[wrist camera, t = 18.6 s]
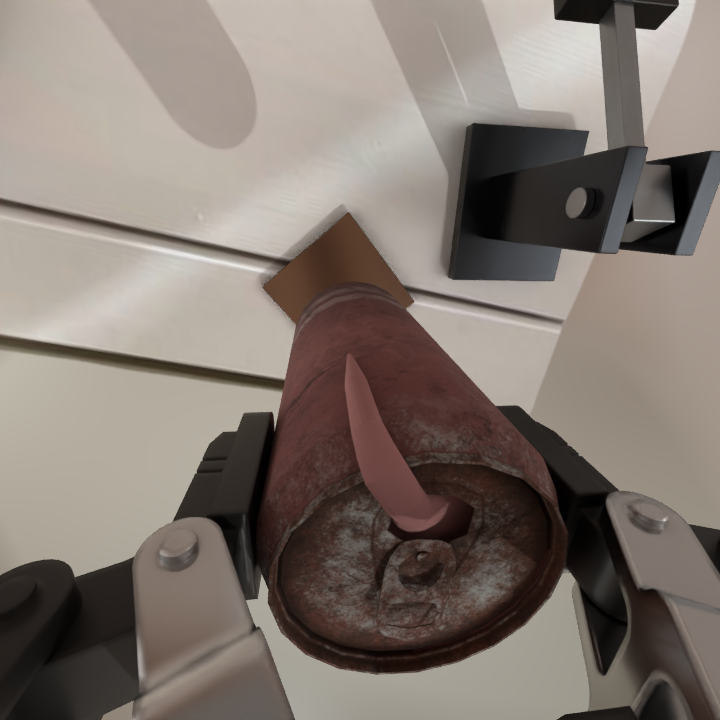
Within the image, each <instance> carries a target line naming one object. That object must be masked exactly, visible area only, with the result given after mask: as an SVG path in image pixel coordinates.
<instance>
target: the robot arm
mask: <svg viewBox="0 0 720 720" xmlns="http://www.w3.org/2000/svg"><path fill="white" fill-rule="evenodd" d="M496 407H497V408H498V409H499V410H500V411H501V413H502V414H503V415H504V416H505V417H506V418H507V419H508V420H509V421H510V422H511V423H512V424H513V426H514V427H515V428H516V429H517V430H518V431H519V432H520V433H521V434H522V435H523V436H524V437H525V438H526V440H527V441H528V442H529V443H530V444H531V445H532V446H533V447H534V448H535V449H536V450H537V451H538V452H539V454H540V455H541V456H542V457H543V458H544V461H545V464H546V466H547V469H548V471H549V474H550V476H551V479H552V481H553V484H554V486H555V489H556V493H557V499H558V506H559V511H560V514H561V516H562V519H563V521H564V524H565V526H566V529H567V531H568V546H567V559H566V567H565V569H564V571H563V573H571V574H572V575H573V577H574V578H575V579H576V580H575V583H574V585H573V589H572V598H573V603H574V608H575V613H576V618H577V624H578V629H579V634H580V639H581V644H582V649H583V654H584V660H585V665H586V670H587V675H588V681H589V690H590V700H589V709H588V711H587V712H581V713H573V714H566V715H564V716H562V717H560V718H559V719H557V720H720V530H718V529H712V528H706V527H701V526H696V525H690V524H688V523H687V522H686V521H685V520H684V519H683V518H682V517H681V516H680V515H679V514H678V513H676V512H675V511H674V510H672V509H671V508H669V507H668V506H666V505H664V504H663V503H661V502H659V501H657V500H655V499H653V498H650V497H648V496H645V495H642V494H638V493H634V492H629V491H619V490H618V489H617V488H616V487H615V486H614V485H612V484H611V483H610V482H609V481H608V480H607V479H606V478H605V477H604V476H603V475H602V474H600V473H599V472H598V471H597V470H596V469H595V468H594V467H593V466H592V465H590V464H589V463H588V462H587V461H586V460H585V459H584V458H583V457H582V456H579V455H578V454H579V453H577V452H576V451H575V450H574V449H573V448H572V447H571V446H568V445H567V442H565V441H564V440H563V439H562V438H561V437H560V436H559V435H558V434H557V433H555V432H554V431H553V430H551V429H549V428H547V427H545V426H544V425H542V424H540V423H538V422H535V421H534V420H533V419H532V418H531V417H530V416H529V415H528V414H527V413H526V412H525V411H524V410H523V409H522V408H520V407H519V406H516V405H514V406H496ZM274 433H275V430H274V417H273V413H272V412H257V413H244V414H243V417H242V419H241V422H240V425H239V427H238V430H237V432H223V433H221V434H220V435H219V436H218V437H217V438H216V439H215V440H214V441H212V442H211V443H210V444H209V446H208V448H207V450H206V452H205V454H204V457H203V461H201V463H200V465H199V467H198V469H197V474H195V476H194V478H193V480H192V482H191V484H190V486H189V488H188V491H187V492H186V495H185V497H184V499H183V501H182V503H181V505H180V507H179V509H178V512H177V514H176V516H175V518H174V520H173V522H172V523H169V524H167V525H165V526H164V527H162V528H160V529H158V530H157V531H156V532H154V533H153V534H152V535H150V536H149V537H148V538H147V539H146V541H144V542H143V544H142V545H141V546H140V548H139V549H138V551H137V553H136V555H135V557H133V558H130V559H128V560H126V561H124V562H121V563H118V564H114V565H112V566H109V567H106V568H102V569H99V570H96V571H93V572H90V573H87V574H84V575H81V576H78V577H75V576H74V574H73V571H72V569H71V567H70V566H69V565H68V564H66V563H65V562H63V561H60V560H53V559H51V560H41V561H35V562H31V563H28V564H24V565H22V566H19V567H17V568H14V569H12V570H10V571H8V572H6V573H4V574H2V575H0V720H101V719H102V717H103V715H104V714H106V713H108V712H110V711H112V710H114V709H116V708H118V707H121V706H123V705H125V704H127V703H129V702H131V701H133V700H134V703H133V712H132V720H295V718H294V715H293V713H292V710H291V707H290V704H289V702H288V699H287V696H286V694H285V690H284V688H283V685H282V682H281V679H280V677H279V674H278V671H277V668H276V665H275V663H274V660H273V657H272V655H271V652H270V649H269V646H268V644H267V641H266V639H265V636H264V634H263V632H262V630H261V628H260V627H257V628H256V626H255V624H254V622H253V619H252V617H251V614H250V611H249V608H248V605H247V602H246V600H251V599H258V593H259V587H260V580H261V574H262V573H261V571H260V568H259V566H258V564H257V561H256V528H257V518H258V513H259V508H260V503H261V498H262V493H263V488H264V483H265V478H266V473H267V468H268V463H269V458H270V453H271V448H272V443H273V438H274Z"/></svg>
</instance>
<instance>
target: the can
mask: <svg viewBox="0 0 720 720" xmlns="http://www.w3.org/2000/svg"><path fill="white" fill-rule="evenodd" d="M567 546H568V531H567V529H566V526H565V524H564V521H563V519H562V516H561V514H560V511H559V506H558V499H557V493H556V489H555V486H554V484H553V481H552V479H551V476H550V474H549V471H548V469H547V466H546V464H545V461H544V458H543V457H542V456H541V455H540V454H539V452H538V451H537V450H536V449H535V448H534V447H533V446H532V445H531V444H530V443H529V442H528V441H527V440H526V438H525V437H524V436H523V435H522V434H521V433H520V432H519V431H518V430H517V429H516V428H515V427H514V426H513V424H512V423H511V422H510V421H509V420H508V419H507V418H506V417H505V416H504V415H503V414H502V413H501V411H500V410H499V409H498V408H497V407H496V406H495V405H494V404H493V403H492V402H491V401H490V400H489V399H488V397H487V396H486V395H485V394H484V393H483V392H482V391H481V390H480V389H479V388H478V387H477V386H476V385H475V383H474V382H473V381H472V380H471V379H470V378H469V377H468V376H467V375H466V374H465V373H464V372H463V370H462V369H461V368H460V367H459V366H458V365H457V364H456V363H455V362H454V361H453V360H452V359H451V358H450V356H449V355H448V354H447V353H446V352H445V351H444V350H443V349H442V348H441V347H440V346H439V345H438V344H437V342H436V341H435V340H434V339H433V338H432V337H431V336H430V335H429V334H428V333H427V332H426V331H425V329H424V328H423V327H422V326H421V325H420V324H419V323H418V322H417V321H416V320H415V319H414V318H413V317H412V315H411V314H410V313H409V312H408V311H407V310H406V309H405V308H404V307H403V306H402V305H401V304H400V303H399V302H398V301H397V300H396V299H395V298H394V297H393V296H392V295H391V294H390V293H389V292H388V291H386V290H384V289H382V288H380V287H377V286H375V285H373V284H371V283H362V282H354V281H351V282H346V283H341V284H336V285H332V286H331V287H329V288H327V289H325V290H324V291H322V292H320V293H318V294H317V295H315V297H314V298H313V299H312V300H311V301H310V302H309V303H308V304H307V305H306V307H305V308H304V309H303V311H302V313H301V316H300V318H299V320H298V323H297V325H296V329H295V334H294V339H293V344H292V349H291V354H290V359H289V364H288V369H287V374H286V379H285V384H284V389H283V394H282V399H281V404H280V408H279V413H278V418H277V424H276V428H275V433H274V438H273V443H272V448H271V453H270V458H269V463H268V468H267V473H266V478H265V483H264V488H263V493H262V498H261V503H260V508H259V513H258V518H257V528H256V561H257V564H258V566H259V568H260V571H261V573H262V575H263V578H264V580H265V582H266V585H267V587H268V589H269V591H268V604H269V606H270V609H271V611H272V613H273V616H274V618H275V620H276V622H277V625H278V627H279V629H280V631H281V633H282V634H283V635H284V636H286V637H287V638H288V639H289V640H290V641H291V642H292V643H293V644H294V645H296V646H297V647H298V648H299V649H300V650H301V651H302V652H303V653H305V654H306V655H308V656H310V657H312V658H315V659H317V660H320V661H322V662H324V663H327V664H329V665H331V666H334V667H336V668H339V669H344V670H351V671H357V672H364V673H370V674H395V673H415V672H421V671H425V670H429V669H433V668H437V667H441V666H446V665H450V664H454V663H457V662H459V661H462V660H464V659H466V658H469V657H471V656H473V655H476V654H478V653H480V652H482V651H484V650H487V649H489V648H491V647H494V646H495V645H497V644H498V643H499V642H501V641H502V640H504V639H505V638H507V637H508V636H510V635H511V634H512V633H514V632H515V631H517V630H518V629H520V628H521V627H523V626H524V625H525V624H526V623H527V622H528V621H529V620H530V619H531V618H532V617H533V616H534V615H535V614H536V613H537V611H538V610H539V609H540V608H541V607H542V606H543V605H544V604H545V603H546V602H547V600H548V599H549V598H550V597H551V596H552V593H553V591H554V589H555V587H556V585H557V583H558V581H559V579H560V577H561V575H562V573H563V571H564V569H565V567H566V559H567Z"/></svg>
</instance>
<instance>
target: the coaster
mask: <svg viewBox="0 0 720 720" xmlns="http://www.w3.org/2000/svg"><path fill="white" fill-rule="evenodd" d="M351 281H354V282H362V283H371V284H373V285H375V286H377V287H380V288H382V289H384V290H386V291H388V292H389V293H390V294H391V295H392V296H393V297H394V298H395V299H396V300H397V301H398V302H399V303H400V304H401V305H402V306H403V307H404V308H405V309H406V308H407V307H409V306H410V305H411V304H413V303H414V300H413V299H412V298H411V296H410V295H409V294H408V292H407V291H406V290H405V288H404V287H403V285H402V284H401V283H400V281H399V280H398V279H397V277H396V276H395V275H394V273H393V272H392V270H391V269H390V268H389V266H388V265H387V264H386V262H385V261H384V260H383V258H382V257H381V255H380V254H379V253H378V251H377V250H376V249H375V247H374V246H373V245H372V243H371V242H370V240H369V239H368V238H367V236H366V235H365V234H364V232H363V231H362V230H361V228H360V227H359V226H358V224H357V223H356V221H355V220H354V219H353V217H352V216H351V215H350V213H347V214H346V215H345V216H343V217H342V218H341V219H340V220H339V221H338V222H337V223H335V224H334V225H333V226H332V227H331V228H330V229H328V230H327V231H326V232H325V233H324V234H323V235H321V236H320V237H319V238H318V239H317V240H316V241H315V242H313V243H312V244H311V245H310V246H309V247H308V248H306V249H305V250H304V251H303V252H302V253H301V254H299V255H298V256H297V257H296V258H295V259H294V260H293V261H291V262H290V263H289V264H288V265H287V266H286V267H284V268H283V269H282V270H281V271H280V272H279V273H277V274H276V275H275V276H274V277H273V278H272V279H271V280H269V281H268V282H267V283H266V284H265V285H264V286H263V287H262V288H263V289H264V290H265V291H266V292H267V293H268V295H269V296H270V297H271V298H272V299H273V300H274V301H275V302H276V303H277V304H278V305H279V306H280V308H281V309H282V310H283V311H284V312H285V313H286V314H287V315H288V316H289V317H290V318H291V319H292V321H293V322H294V323H295V324H296V325H297V323H298V320H299V318H300V316H301V313H302V311H303V309H304V308H305V307H306V305H307V304H308V303H309V302H310V301H311V300H312V299H313V298H314V297H315V295H317V294H318V293H320V292H322V291H324V290H325V289H327V288H329V287H331V286H332V285H336V284H341V283H346V282H351Z"/></svg>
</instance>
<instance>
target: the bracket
mask: <svg viewBox="0 0 720 720" xmlns="http://www.w3.org/2000/svg"><path fill="white" fill-rule="evenodd" d="M588 134H589V131H581V130H566V129H551V128H536V127H522V126H507V125H492V124H477V123H473V124H471V125H470V126H468V127H467V130H466V138H465V146H464V154H463V162H462V170H461V178H460V186H459V195H458V203H457V211H456V219H455V227H454V235H453V243H452V251H451V259H450V268H449V276H448V277H449V278H451V279H453V280H510V281H554V279H555V274H556V270H557V266H558V262H559V257H560V253H561V249H569V250H577V251H584V252H592V253H604V254H616V253H617V252H618V249H621V250H631V251H640V252H649V253H659V254H668V255H686V256H687V255H688V256H689V255H690V256H691V255H693V252H694V250H695V247H696V244H697V242H698V239H699V237H700V234H701V231H702V228H703V226H704V223H705V220H706V217H707V215H708V212H709V209H710V207H711V204H712V201H713V199H714V196H715V193H716V191H717V188H718V185H719V182H720V151H706V152H700V153H694V154H688V155H683V156H676V157H670V158H664V159H658V160H652V161H646V164H650V165H668V166H670V167H671V177H672V189H673V201H674V213H675V222H674V223H672V224H670V225H668V226H665V227H663V228H661V229H659V230H657V231H655V232H652V233H650V234H648V235H646V236H644V237H641V238H639V239H637V240H635V241H633V242H621V239H622V236H623V232H624V229H625V226H626V222H627V219H628V215H629V212H630V209H631V205H632V202H633V198H634V195H635V191H636V188H637V185H638V181H639V178H640V174H641V171H642V168H643V164H644V161H645V157H646V154H647V150H648V147H644V146H624V147H620V148H615V149H611V150H607V151H602V152H598V153H594V154H589V155H585V156H583V155H584V151H585V147H586V142H587V138H588Z"/></svg>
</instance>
